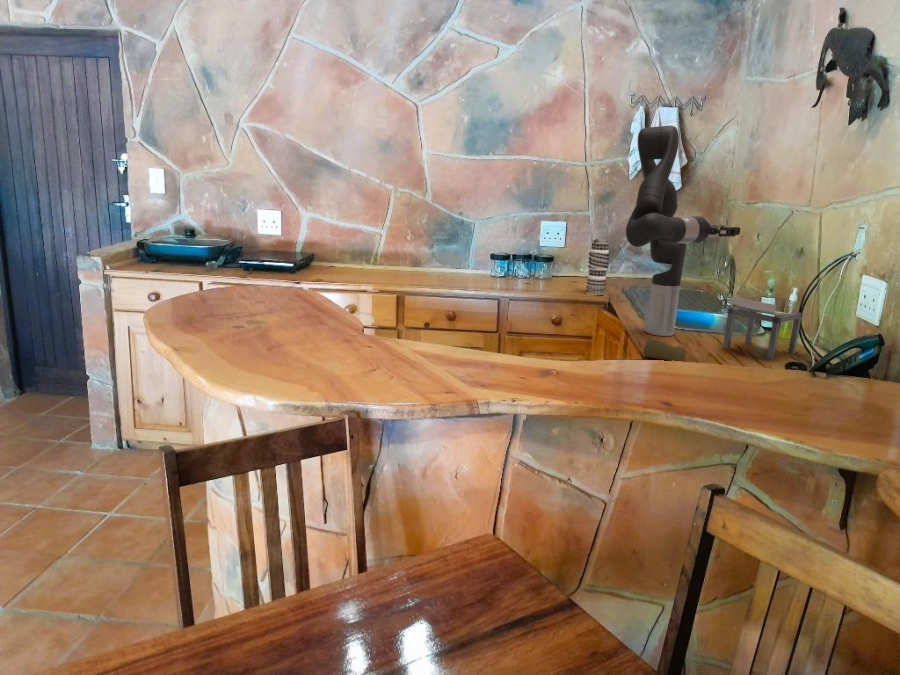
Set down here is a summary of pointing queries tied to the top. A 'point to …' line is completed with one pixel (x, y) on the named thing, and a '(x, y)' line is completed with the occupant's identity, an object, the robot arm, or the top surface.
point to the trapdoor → (755, 306)
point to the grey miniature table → (774, 331)
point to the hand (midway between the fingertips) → (726, 229)
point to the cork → (663, 351)
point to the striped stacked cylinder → (598, 266)
